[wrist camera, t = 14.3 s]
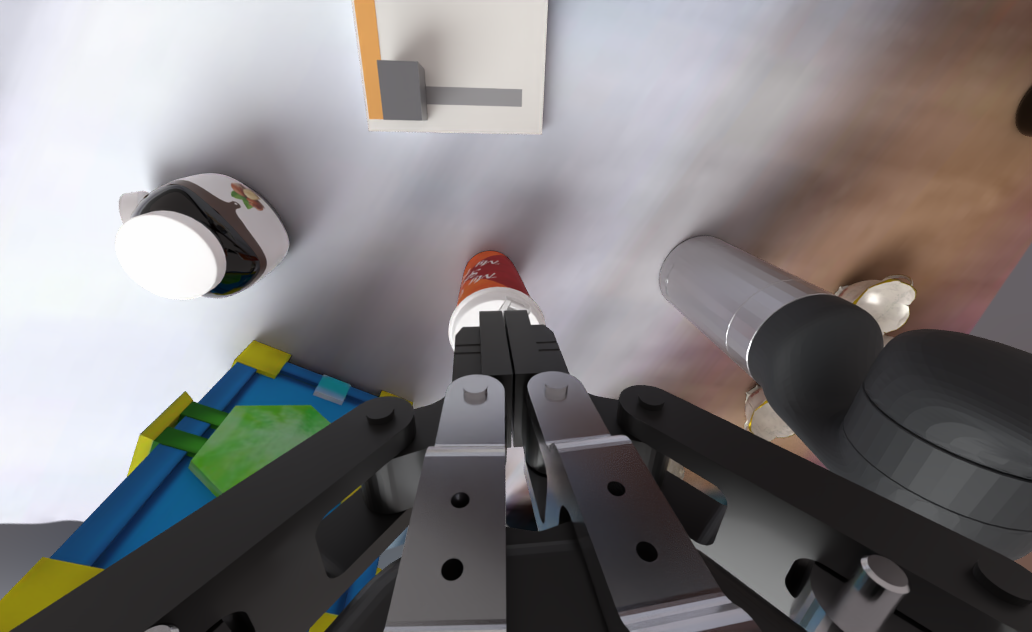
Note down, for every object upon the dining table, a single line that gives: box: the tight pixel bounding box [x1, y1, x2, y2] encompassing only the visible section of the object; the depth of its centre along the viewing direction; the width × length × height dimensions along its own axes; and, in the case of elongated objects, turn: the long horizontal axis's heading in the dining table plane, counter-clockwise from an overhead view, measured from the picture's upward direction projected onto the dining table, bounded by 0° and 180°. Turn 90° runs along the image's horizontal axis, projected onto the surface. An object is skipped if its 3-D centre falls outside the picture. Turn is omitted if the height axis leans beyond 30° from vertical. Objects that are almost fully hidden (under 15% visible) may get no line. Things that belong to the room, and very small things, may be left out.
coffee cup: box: [448, 251, 545, 350], centre depth 39 cm, size 8×8×15 cm
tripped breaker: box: [377, 60, 428, 121], centre depth 33 cm, size 3×4×5 cm
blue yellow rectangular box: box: [0, 340, 413, 632], centre depth 38 cm, size 14×23×30 cm, turn 58°
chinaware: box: [744, 275, 917, 442], centre depth 50 cm, size 28×17×17 cm, turn 158°
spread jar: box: [115, 173, 289, 300], centre depth 35 cm, size 12×11×12 cm
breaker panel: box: [351, 0, 548, 135], centre depth 34 cm, size 16×16×2 cm
